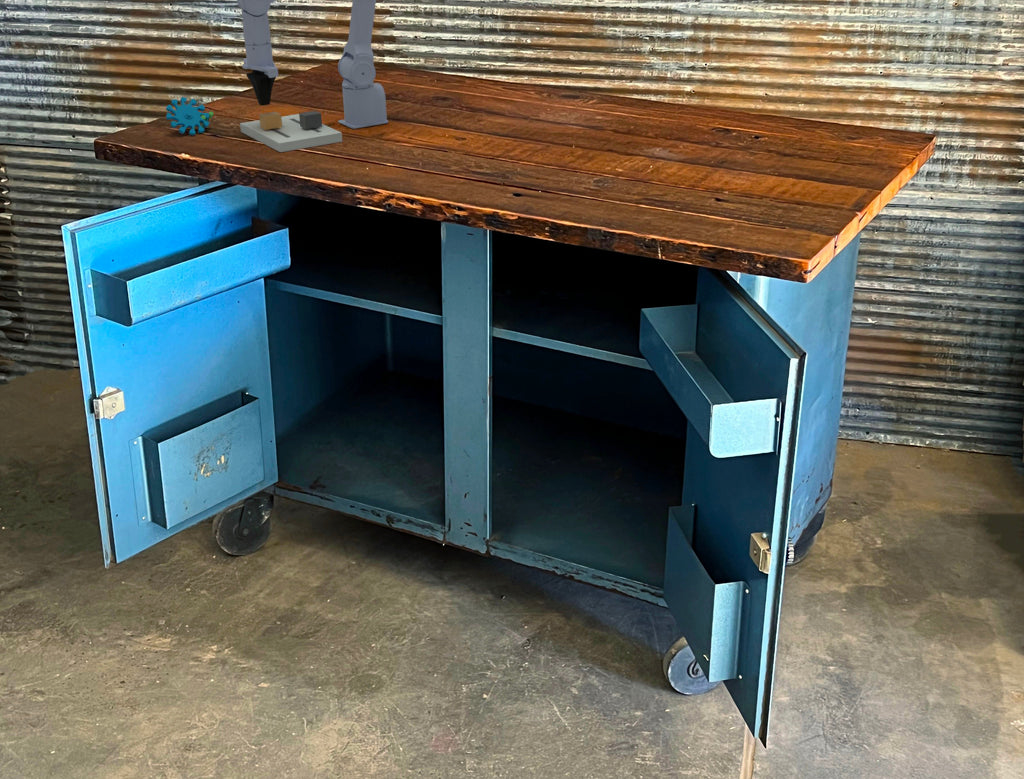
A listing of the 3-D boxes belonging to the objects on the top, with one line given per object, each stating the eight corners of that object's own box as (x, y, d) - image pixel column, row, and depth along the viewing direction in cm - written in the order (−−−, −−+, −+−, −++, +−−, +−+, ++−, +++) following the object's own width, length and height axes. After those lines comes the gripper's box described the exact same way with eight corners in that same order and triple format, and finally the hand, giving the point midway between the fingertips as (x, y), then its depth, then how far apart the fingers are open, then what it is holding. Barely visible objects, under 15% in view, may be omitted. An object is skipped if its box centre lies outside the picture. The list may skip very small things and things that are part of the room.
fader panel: (300, 122, 293) (299, 113, 292) (342, 141, 276) (341, 132, 275) (241, 131, 285) (240, 123, 285) (280, 152, 269) (279, 143, 268)
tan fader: (276, 124, 281) (275, 111, 280) (282, 127, 279) (281, 113, 278) (260, 127, 279) (259, 113, 278) (265, 129, 277) (264, 116, 276)
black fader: (316, 123, 281) (315, 110, 280) (322, 126, 279) (321, 113, 278) (300, 126, 279) (299, 113, 278) (305, 129, 277) (304, 115, 276)
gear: (171, 132, 280) (162, 95, 282) (166, 146, 284) (157, 109, 287) (219, 132, 285) (209, 95, 288) (213, 146, 290) (203, 110, 293)
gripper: (228, 40, 277) (235, 101, 283) (254, 50, 266) (260, 113, 272) (257, 36, 280) (264, 96, 286) (284, 46, 269) (290, 108, 275)
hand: (264, 104), depth 279 cm, fingers closed
